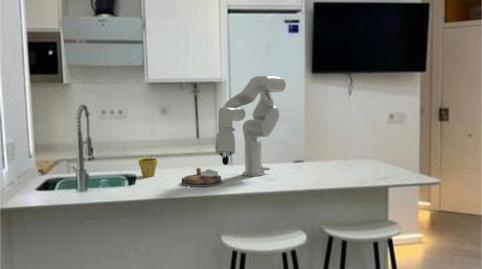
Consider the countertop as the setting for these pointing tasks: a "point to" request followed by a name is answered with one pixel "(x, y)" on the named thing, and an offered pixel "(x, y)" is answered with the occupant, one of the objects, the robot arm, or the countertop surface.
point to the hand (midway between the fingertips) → (225, 164)
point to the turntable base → (202, 185)
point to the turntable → (200, 179)
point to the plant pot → (148, 166)
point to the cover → (209, 174)
